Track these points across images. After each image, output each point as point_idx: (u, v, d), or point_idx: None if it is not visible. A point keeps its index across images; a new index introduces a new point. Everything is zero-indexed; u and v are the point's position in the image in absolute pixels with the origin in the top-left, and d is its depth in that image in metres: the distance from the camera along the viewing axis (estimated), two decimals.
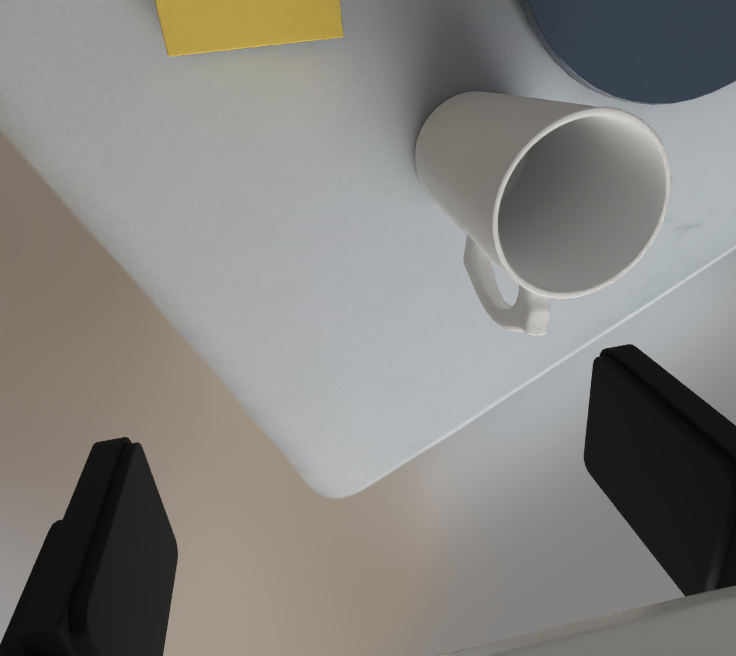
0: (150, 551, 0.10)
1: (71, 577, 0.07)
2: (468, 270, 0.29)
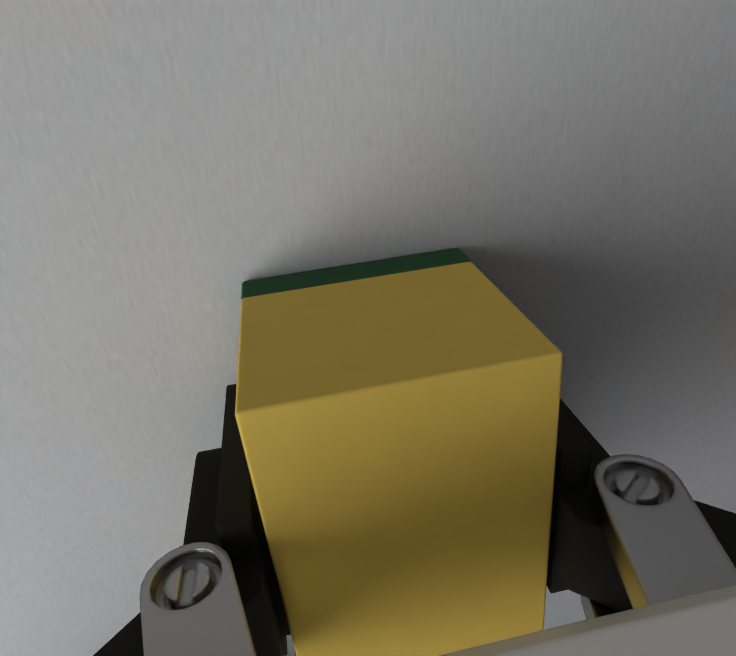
0: None
1: (246, 483, 0.09)
2: None
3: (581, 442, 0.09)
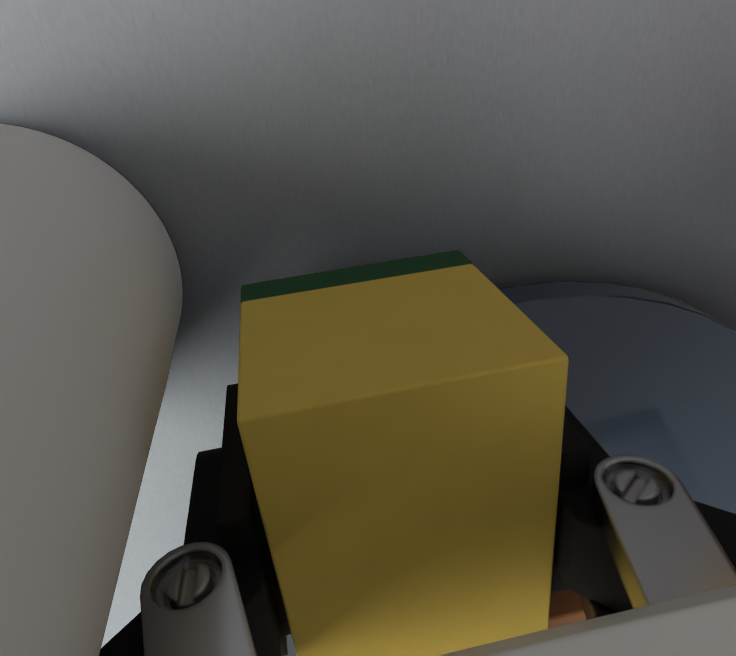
0: None
1: (246, 483, 0.09)
2: None
3: (581, 442, 0.09)
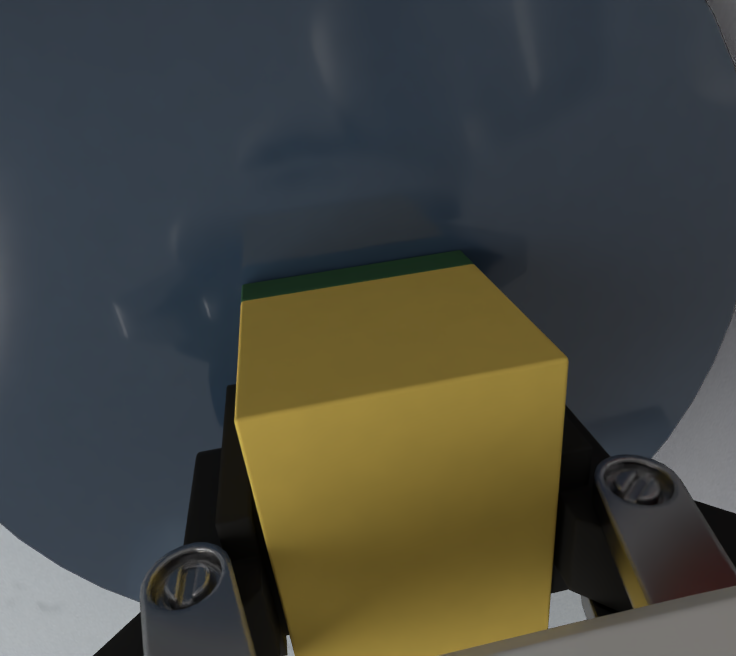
0: None
1: (246, 483, 0.09)
2: None
3: (582, 442, 0.09)
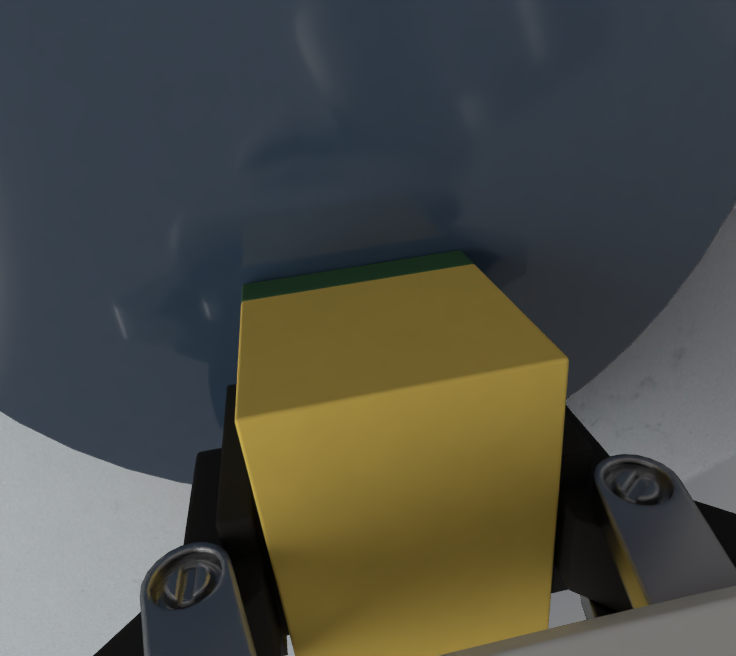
0: None
1: (246, 483, 0.09)
2: None
3: (581, 442, 0.09)
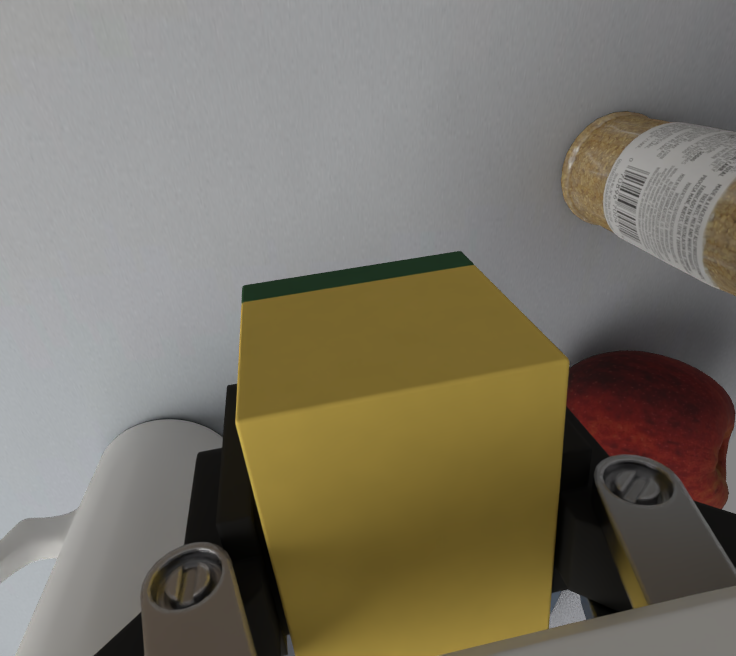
0: None
1: (246, 483, 0.09)
2: (10, 537, 0.21)
3: (581, 442, 0.09)
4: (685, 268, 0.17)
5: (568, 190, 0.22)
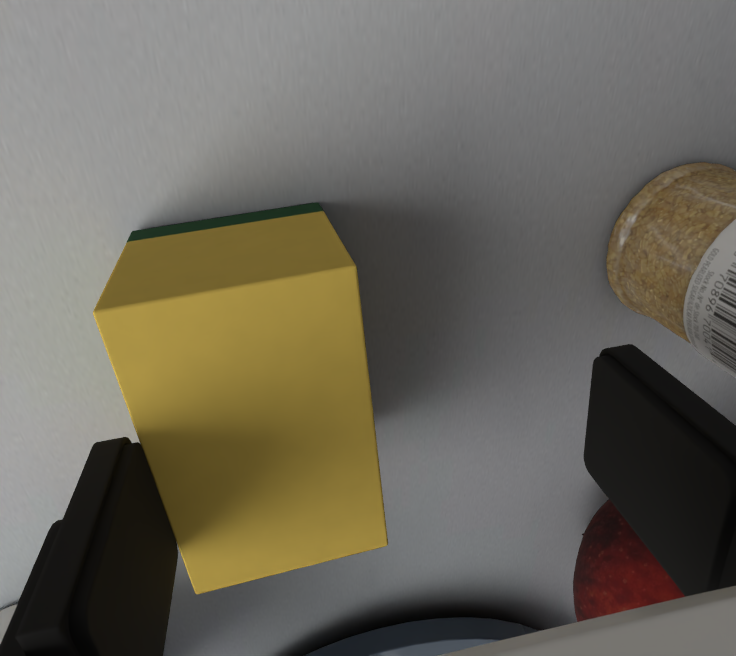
0: (150, 551, 0.10)
1: (71, 577, 0.07)
2: None
3: None
4: None
5: (618, 275, 0.15)
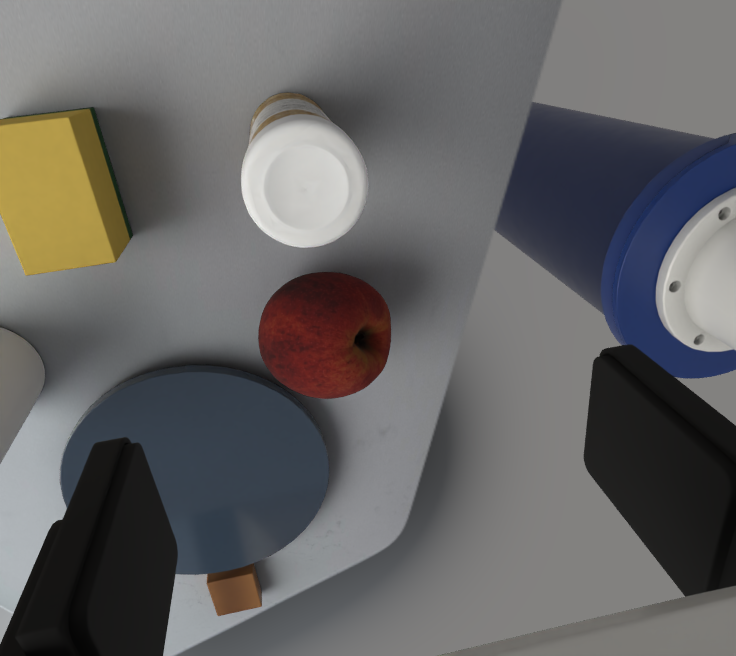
0: (150, 551, 0.10)
1: (71, 577, 0.07)
2: None
3: None
4: None
5: None
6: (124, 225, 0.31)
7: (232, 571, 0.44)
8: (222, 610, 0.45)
